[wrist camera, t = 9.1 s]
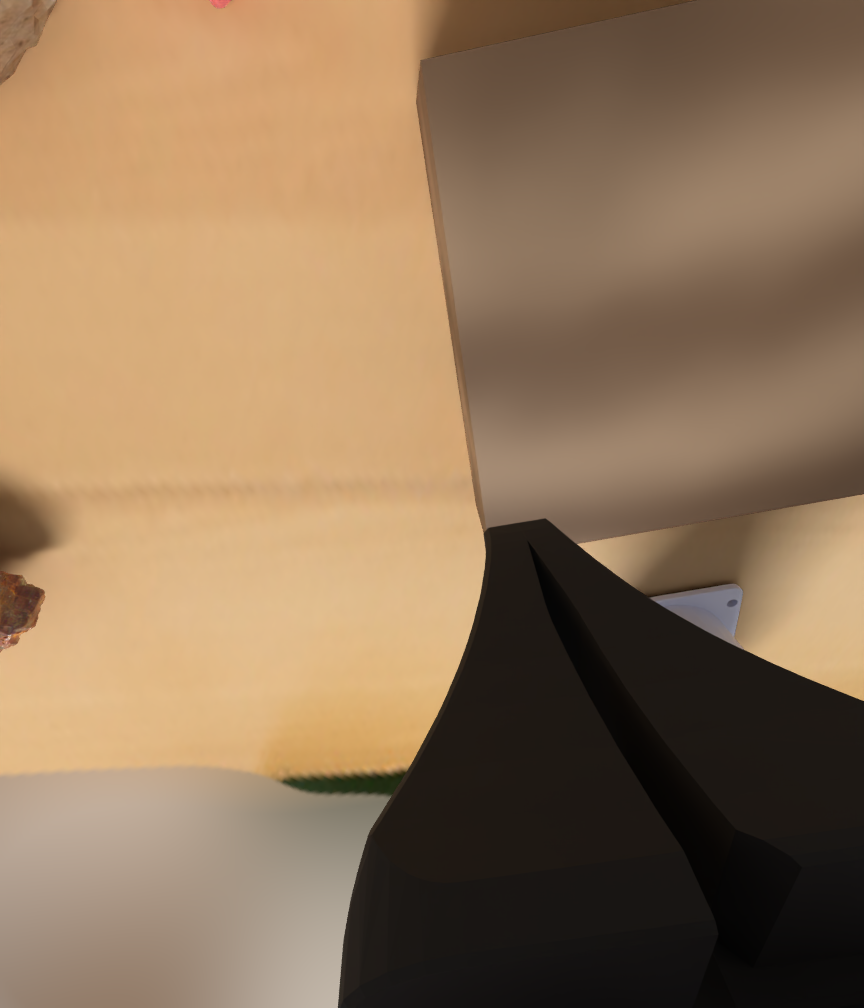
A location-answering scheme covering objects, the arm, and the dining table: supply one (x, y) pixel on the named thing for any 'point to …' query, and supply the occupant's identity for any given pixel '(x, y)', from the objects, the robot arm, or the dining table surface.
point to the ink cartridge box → (219, 3)
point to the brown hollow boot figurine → (20, 30)
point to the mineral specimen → (17, 608)
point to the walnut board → (655, 262)
